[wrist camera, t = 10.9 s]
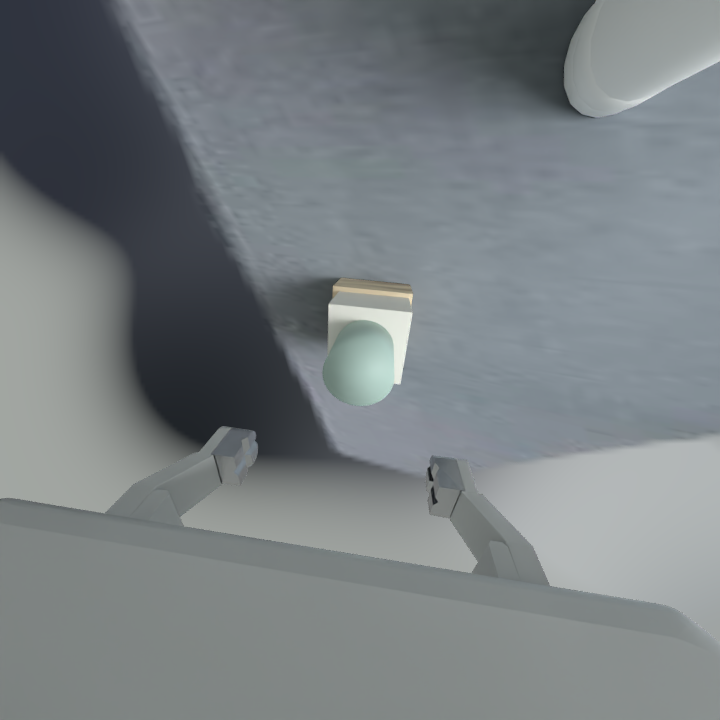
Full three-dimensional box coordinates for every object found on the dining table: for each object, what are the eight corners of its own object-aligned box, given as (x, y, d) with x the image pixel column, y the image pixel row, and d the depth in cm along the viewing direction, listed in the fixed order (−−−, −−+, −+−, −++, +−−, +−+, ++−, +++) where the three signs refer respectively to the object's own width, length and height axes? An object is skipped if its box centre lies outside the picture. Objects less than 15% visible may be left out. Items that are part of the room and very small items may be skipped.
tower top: (339, 291, 26) (328, 303, 21) (408, 297, 25) (412, 312, 21) (336, 353, 29) (327, 375, 25) (398, 360, 29) (400, 384, 24)
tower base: (341, 277, 30) (332, 285, 26) (409, 284, 30) (413, 294, 25) (338, 340, 34) (330, 356, 29) (399, 347, 33) (400, 365, 29)
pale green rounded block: (336, 317, 22) (322, 339, 17) (397, 323, 22) (399, 347, 17) (335, 370, 24) (322, 401, 20) (390, 376, 24) (389, 409, 19)
